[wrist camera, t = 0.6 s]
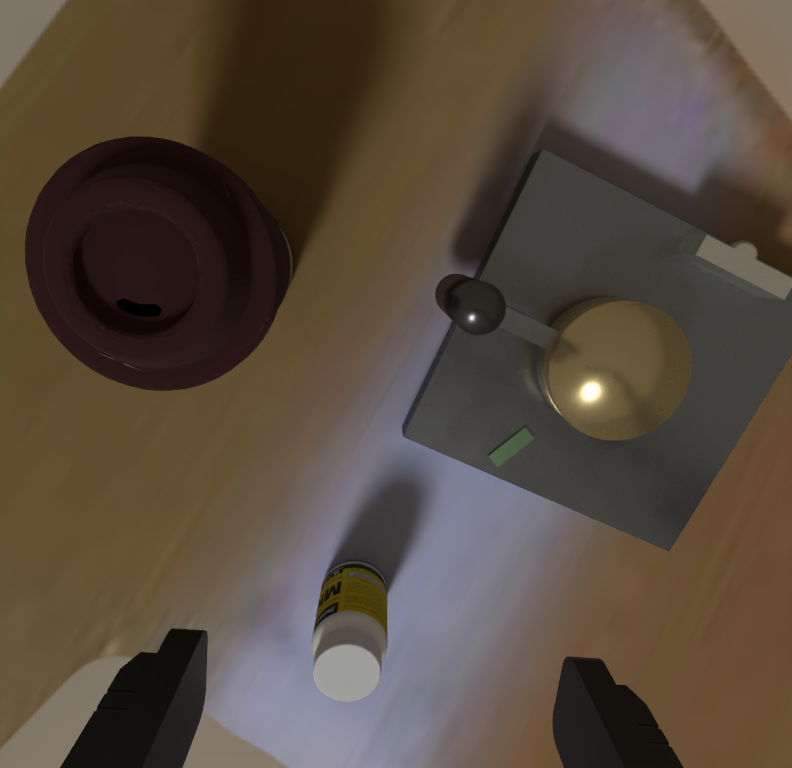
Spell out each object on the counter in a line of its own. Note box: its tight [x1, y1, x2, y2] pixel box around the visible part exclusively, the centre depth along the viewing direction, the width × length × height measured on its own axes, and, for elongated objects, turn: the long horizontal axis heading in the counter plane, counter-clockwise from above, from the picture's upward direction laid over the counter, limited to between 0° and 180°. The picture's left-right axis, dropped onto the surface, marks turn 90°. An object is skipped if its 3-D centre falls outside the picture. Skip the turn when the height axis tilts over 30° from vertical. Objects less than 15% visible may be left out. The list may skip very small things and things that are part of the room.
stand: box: [402, 149, 792, 551], centre depth 35 cm, size 20×19×4 cm
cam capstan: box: [435, 274, 692, 441], centre depth 30 cm, size 15×8×8 cm, turn 65°
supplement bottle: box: [312, 561, 388, 701], centre depth 37 cm, size 5×5×8 cm
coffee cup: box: [25, 137, 293, 391], centre depth 28 cm, size 10×10×15 cm
